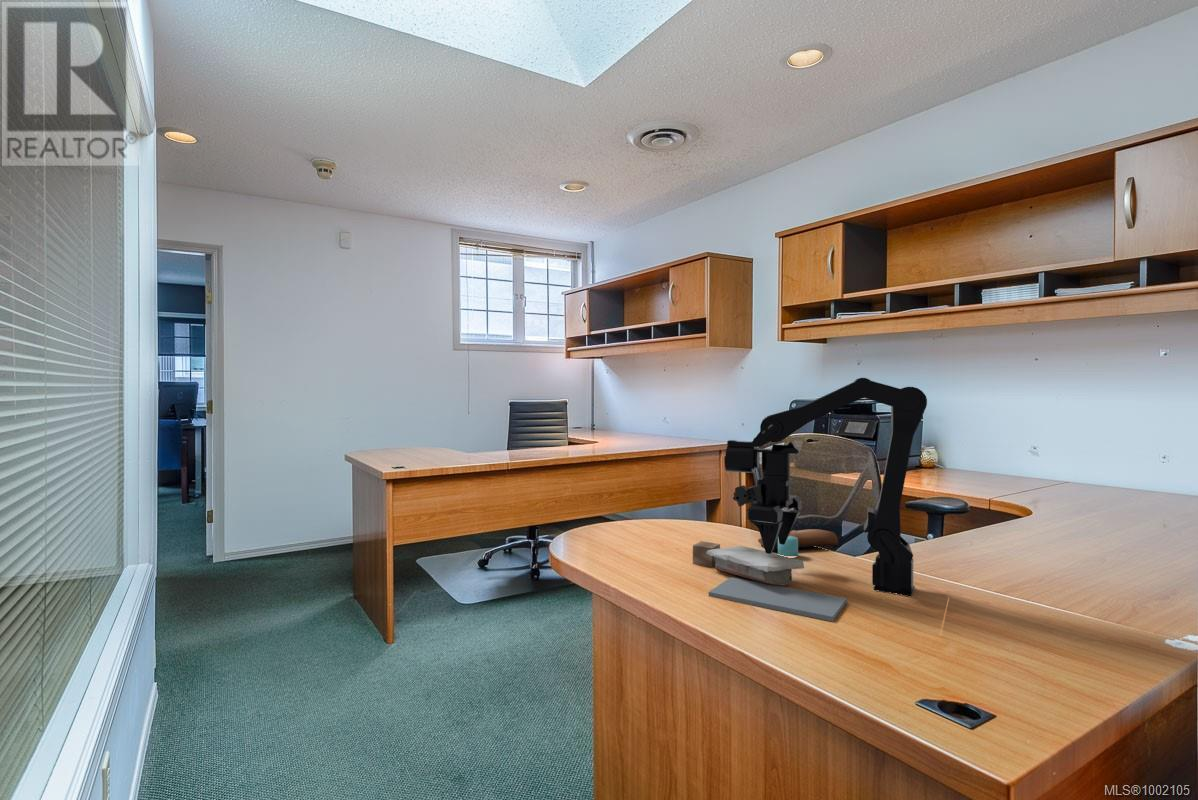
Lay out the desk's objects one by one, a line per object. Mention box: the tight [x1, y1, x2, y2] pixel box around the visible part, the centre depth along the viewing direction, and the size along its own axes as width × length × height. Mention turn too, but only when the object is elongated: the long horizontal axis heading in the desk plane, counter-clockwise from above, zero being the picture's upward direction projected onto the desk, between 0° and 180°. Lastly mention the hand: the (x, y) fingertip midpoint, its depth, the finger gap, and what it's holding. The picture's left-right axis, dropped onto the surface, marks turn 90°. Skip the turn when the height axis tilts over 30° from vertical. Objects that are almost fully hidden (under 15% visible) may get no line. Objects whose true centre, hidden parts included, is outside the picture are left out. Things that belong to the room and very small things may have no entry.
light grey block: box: [706, 545, 805, 587], centre depth 121 cm, size 18×5×10 cm
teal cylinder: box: [777, 536, 799, 557], centre depth 137 cm, size 4×4×4 cm
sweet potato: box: [757, 528, 839, 552], centre depth 145 cm, size 18×7×7 cm
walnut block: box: [692, 540, 721, 568], centre depth 131 cm, size 4×4×4 cm
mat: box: [708, 576, 848, 622], centre depth 108 cm, size 22×11×1 cm, turn 56°
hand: (775, 548), depth 123 cm, fingers open, 9 cm apart
